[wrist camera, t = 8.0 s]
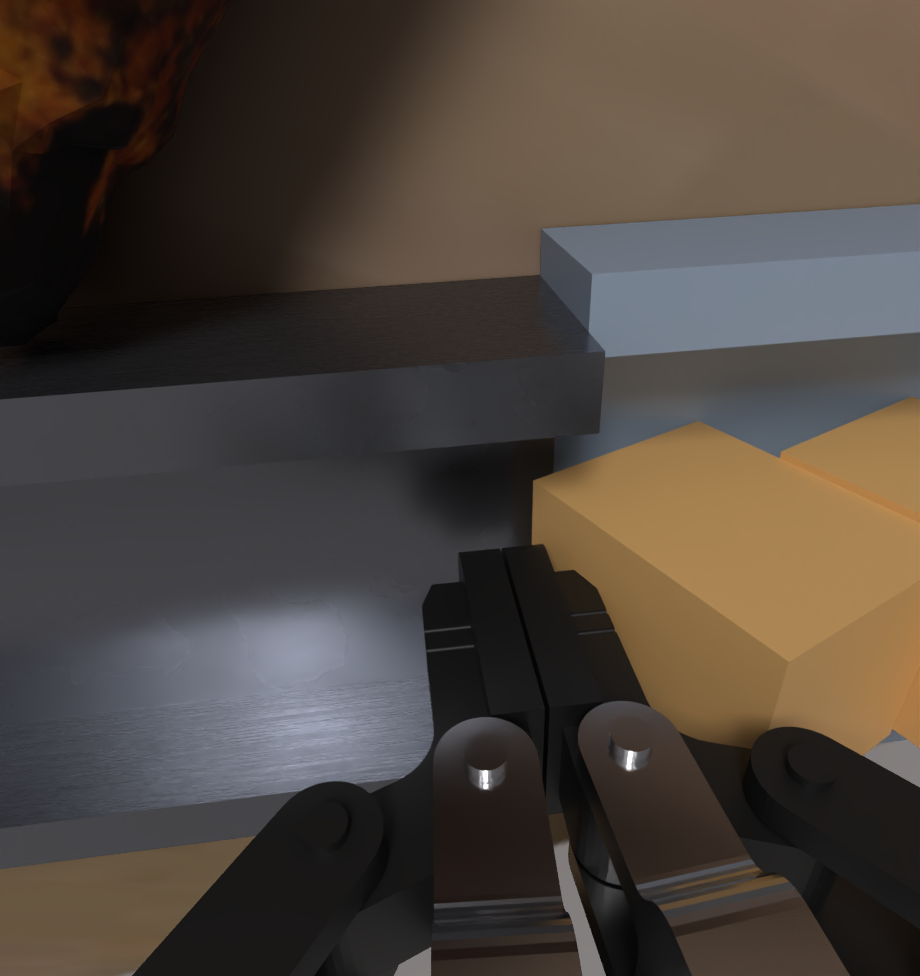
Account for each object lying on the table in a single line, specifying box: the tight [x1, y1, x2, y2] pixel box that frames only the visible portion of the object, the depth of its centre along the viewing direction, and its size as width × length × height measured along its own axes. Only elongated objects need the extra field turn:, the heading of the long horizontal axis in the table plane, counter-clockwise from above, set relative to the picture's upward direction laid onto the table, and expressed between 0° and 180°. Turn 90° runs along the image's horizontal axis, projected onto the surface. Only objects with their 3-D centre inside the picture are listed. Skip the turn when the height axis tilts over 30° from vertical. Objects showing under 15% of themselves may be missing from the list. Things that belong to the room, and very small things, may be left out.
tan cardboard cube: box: [532, 421, 920, 756], centre depth 12 cm, size 4×4×5 cm
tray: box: [540, 204, 920, 743], centre depth 14 cm, size 12×11×3 cm
